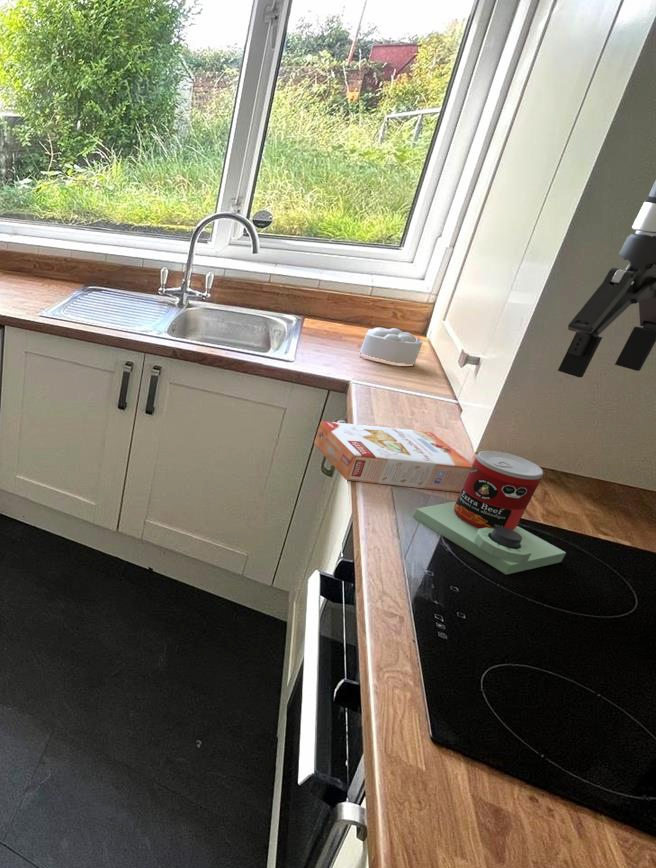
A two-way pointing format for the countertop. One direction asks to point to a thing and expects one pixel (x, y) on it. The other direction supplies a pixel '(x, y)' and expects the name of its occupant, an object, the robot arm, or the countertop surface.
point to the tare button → (506, 537)
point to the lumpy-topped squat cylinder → (391, 345)
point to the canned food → (497, 490)
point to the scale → (489, 541)
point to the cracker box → (392, 456)
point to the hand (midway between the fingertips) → (598, 370)
